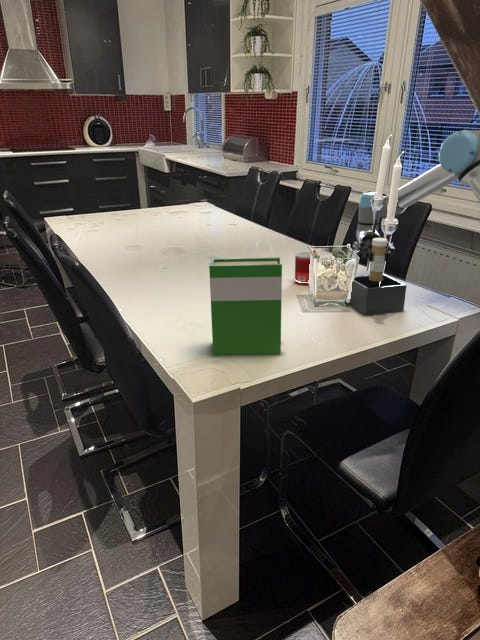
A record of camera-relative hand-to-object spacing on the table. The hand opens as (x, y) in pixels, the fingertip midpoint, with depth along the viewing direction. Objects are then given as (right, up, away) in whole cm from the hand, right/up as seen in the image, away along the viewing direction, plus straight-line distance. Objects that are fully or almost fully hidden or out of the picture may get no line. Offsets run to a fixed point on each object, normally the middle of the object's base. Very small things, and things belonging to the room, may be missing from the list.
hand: (379, 257), depth 146 cm
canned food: (-18, -5, +34) cm, 39 cm away
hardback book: (-42, -28, -21) cm, 54 cm away
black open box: (+1, -15, +8) cm, 17 cm away
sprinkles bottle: (0, -7, +5) cm, 8 cm away
